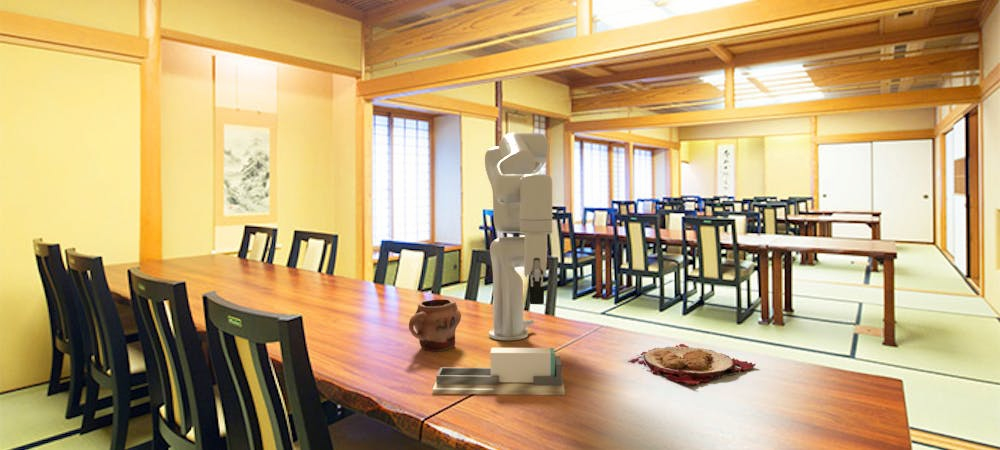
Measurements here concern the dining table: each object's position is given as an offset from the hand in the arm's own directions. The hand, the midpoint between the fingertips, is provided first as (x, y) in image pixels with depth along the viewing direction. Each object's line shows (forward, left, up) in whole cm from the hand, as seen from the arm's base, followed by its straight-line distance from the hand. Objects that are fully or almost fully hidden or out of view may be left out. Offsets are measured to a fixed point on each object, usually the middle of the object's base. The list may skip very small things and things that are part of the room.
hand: (536, 299), depth 120 cm
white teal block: (+3, -2, -19) cm, 19 cm away
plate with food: (-38, +17, -21) cm, 47 cm away
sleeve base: (+7, -6, -20) cm, 22 cm away
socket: (-1, +2, -19) cm, 20 cm away
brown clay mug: (+2, -40, -21) cm, 45 cm away
